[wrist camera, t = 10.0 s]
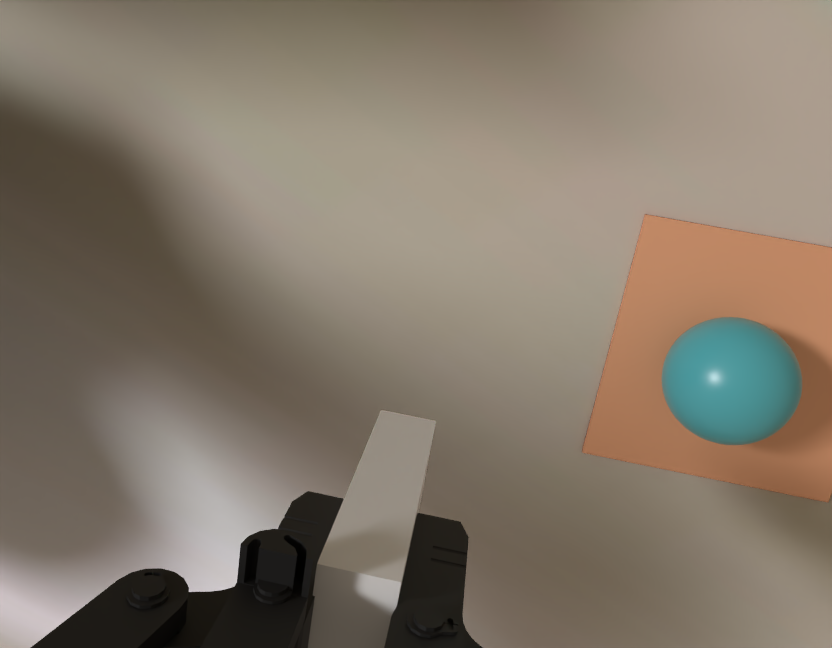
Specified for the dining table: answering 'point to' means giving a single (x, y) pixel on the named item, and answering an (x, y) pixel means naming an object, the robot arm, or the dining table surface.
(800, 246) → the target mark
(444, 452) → the dining table surface
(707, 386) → the ball
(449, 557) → the robot arm
